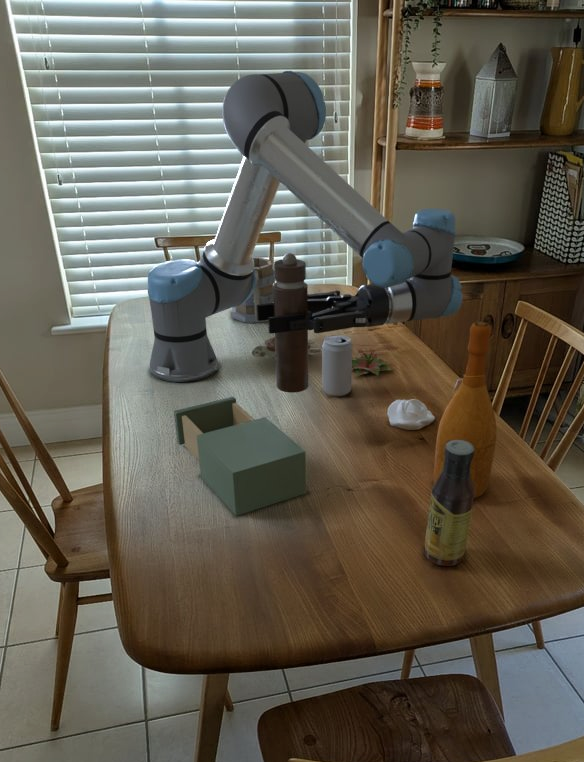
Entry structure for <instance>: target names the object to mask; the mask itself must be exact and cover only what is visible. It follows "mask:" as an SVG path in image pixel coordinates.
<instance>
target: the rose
mask: <svg viewBox="0 0 584 762" xmlns="http://www.w3.org/2000/svg"><path fill="white" fill-rule="evenodd" d="M386 413H387V417H388V422H389V424H390V426H392V427H396V428H399V429H403V430H409V431H410V430H411V431H412V430H413V431H415V430H420V429H422V428H424V427H427V426H429V425H430V424H432V423H433V422H434V421H435V419H436V417H435V415H433V413H432V412H431V410H429V409H428V407H427V405H426V404H425V403H423V402H422V401H420V400H419V399H417V398H412V399H395V400H394V401H392V402H391V403H390V404H389V406H388V408H387V412H386Z"/></svg>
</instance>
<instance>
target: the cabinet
mask: <svg viewBox="0 0 584 762" xmlns="http://www.w3.org/2000/svg"><path fill="white" fill-rule="evenodd" d="M197 444H198V454H199V461H198V462H199V473H200V477H201V478H202V480H203V481H204V482H205V483H206V484H207V485H208V486H209V487H210V488H211V490H212V491H213V492H214V493H215V494H216V495H217V497H218V498H219V499H220V501H222V502H223V503H224V504H225V506H226V507H227V508H228V509H229V510H230V511H231V512H232V514H234V516H236V517H238V516H241V515H244V514H246V513H250V512H253V511H257V510H260V509H261V508H262V509H263V508H265V507H268V506H271V505H274V504H277V503H280V502H283V501H286V500H290V499H293V498H296V497H299V496H302V495H305V494H306V493H307V477H306V476H307V473H306V472H307V469H306V468H307V465H306V461H307V459H306V450H304V449H303V448H302V447H301V446H300V445H298V444H297V443H296V442H295V441H294V440H292V439H291V437H289V436H288V435H287V434H286V433H285V432H284V431H282V430H281V429H280V428H279V427H278V426H276V425H275V424H274V423H273V422H272V421H270V420H269V418H267V416H263V417H261V418H260V417H259V418H257V419H255V420H253V421H249V422H245V423H241V424H238V425H234V426H230V427H226V428H222V429H219V430H215V431H211V432H207V433H204V434H200V435H197Z"/></svg>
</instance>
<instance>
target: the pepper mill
mask: <svg viewBox="0 0 584 762" xmlns="http://www.w3.org/2000/svg"><path fill="white" fill-rule="evenodd" d="M306 264H307V263H306V262H305V261H304V260H303V259H298V258H297V256H296V255H295V254H294V253H291V252H288V253H285V254H284V256H283V257H282V259H278V260H275V261H274V262H273V269H274V278H275V283H274V284H273V299H274V302H273V303H274V316H282V315H290V314H298V313H305V318H307V311H308V294H309V290H308V288H309V285H308V283H306V282H305V280H306V279H307V265H306ZM274 337H275V354H276V360H275V377H276V378H275V379H276V388H277V390H279V391H281V392H284V393H288V394H289V393H290V394H291V393H292V394H295V393H301V392H304V391H306V390H307V389H308V388H309V354H308V340H309V330H307V328H305V329H303V330H295V331H288V332H280V333H274Z"/></svg>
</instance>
